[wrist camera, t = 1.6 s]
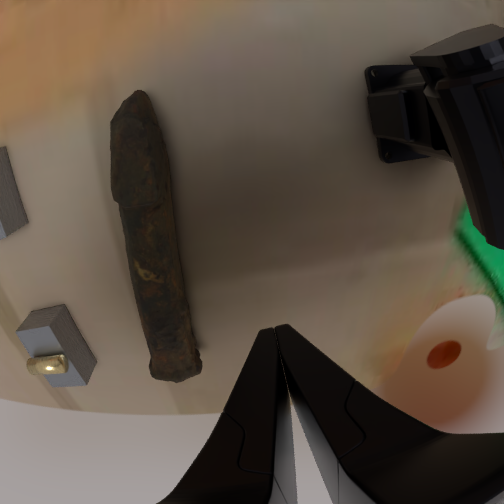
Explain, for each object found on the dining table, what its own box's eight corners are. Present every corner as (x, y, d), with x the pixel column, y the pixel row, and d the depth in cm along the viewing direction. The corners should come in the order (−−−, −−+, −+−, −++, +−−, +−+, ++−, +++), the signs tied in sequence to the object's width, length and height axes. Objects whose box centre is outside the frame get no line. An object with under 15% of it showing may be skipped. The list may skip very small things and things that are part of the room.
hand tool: (203, 350, 24) (201, 392, 20) (154, 350, 24) (145, 391, 20) (191, 90, 17) (181, 80, 13) (127, 96, 17) (100, 89, 12)
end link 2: (64, 304, 21) (41, 337, 17) (96, 361, 24) (82, 397, 20) (31, 311, 21) (7, 342, 17) (63, 365, 24) (47, 398, 20)
